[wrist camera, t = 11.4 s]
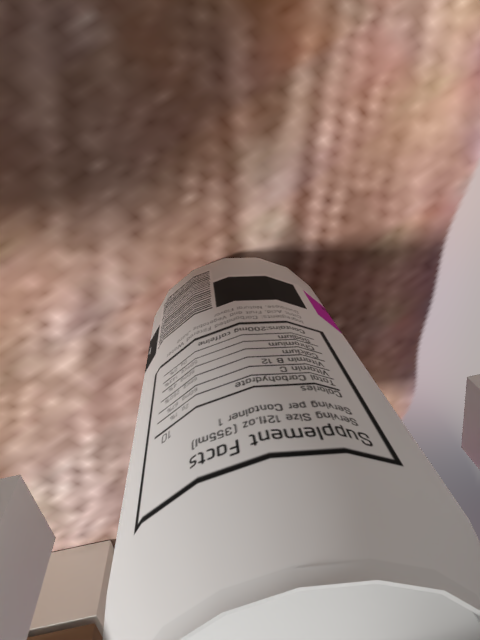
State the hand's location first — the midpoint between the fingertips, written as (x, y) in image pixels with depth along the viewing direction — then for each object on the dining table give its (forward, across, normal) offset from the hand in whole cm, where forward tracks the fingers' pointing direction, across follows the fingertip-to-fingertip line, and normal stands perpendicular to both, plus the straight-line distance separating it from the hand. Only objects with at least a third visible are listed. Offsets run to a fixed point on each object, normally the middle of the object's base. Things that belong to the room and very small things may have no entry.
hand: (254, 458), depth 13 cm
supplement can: (+9, 0, -1) cm, 9 cm away
